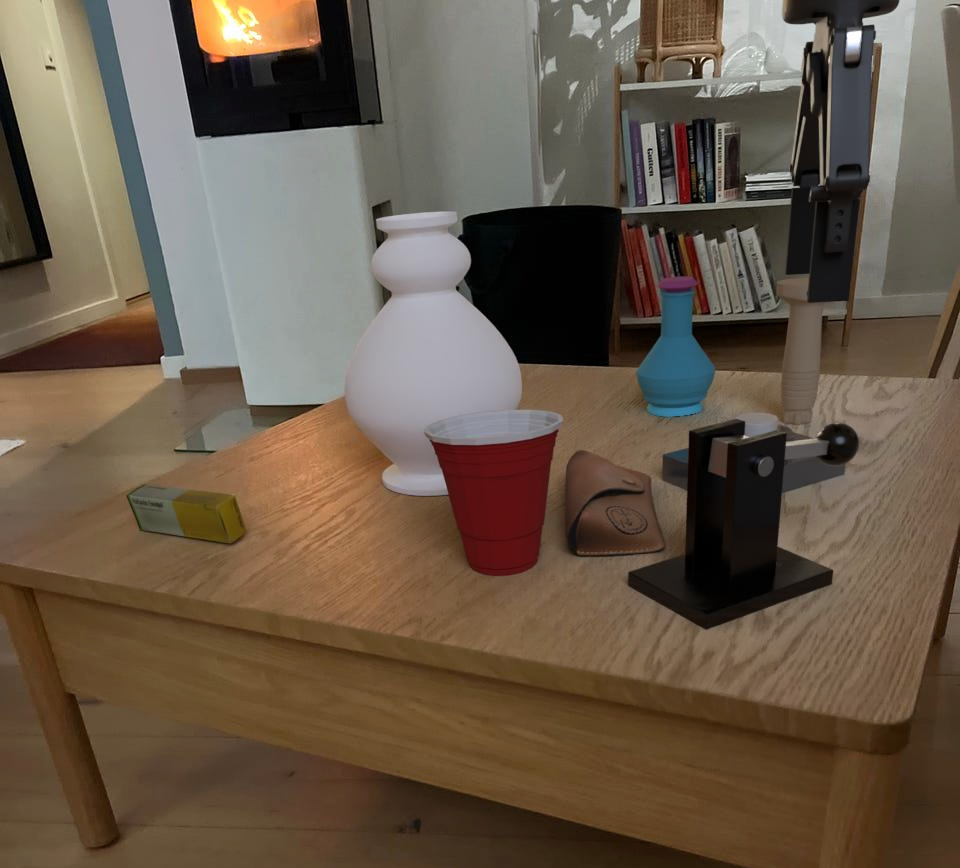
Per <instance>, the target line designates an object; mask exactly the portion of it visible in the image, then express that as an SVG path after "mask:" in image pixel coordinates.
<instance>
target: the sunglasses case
mask: <svg viewBox="0 0 960 868" xmlns="http://www.w3.org/2000/svg"><path fill="white" fill-rule="evenodd" d="M564 480H565V482H564V483H565V485H564V487H565V489H564V491H565V536H566V542H567V545H568V546H569V547H570V549H571V550H573V552H574V553H575V554H576V555H578V556H580V557H625V556H626V557H627V556H634V555H644V554H651V553H656V552H660V551H662V550H665V549H666V540H665V537H664V533H663V531H662V528H661V525H660V523H659V519H658V516H657V512H656V508H655V504H654V499H653V493H652V477H651V476H650V475H648V474H646V473H644V472H642V471H638V470H633V469H631V468H627V467H624V466H621V465H618V464H615V463H614V462H612V461H611V460H609V459H607V458H604V457H603V456H601V455H599V454H596V453H595V452H591V451H588V450H583V449H579V450H577V451H575V452H574V453H573V454H572V455H571V456H570V458H569V459H568V461H567V463H566V468H565V479H564Z"/></svg>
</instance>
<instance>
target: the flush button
mask: <svg viewBox="0 0 960 868" xmlns="http://www.w3.org/2000/svg"><path fill="white" fill-rule="evenodd" d="M733 419H739V420H743V421H745V436H747V437H752V436H756V435H760V434H764V433H767V432H771V431H775V430H777V429H778V424H779V417H778V416H777V415H774V414H772V413H767V412H746V413H741V414H738V415H736V416H734V418H733Z"/></svg>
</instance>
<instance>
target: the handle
mask: <svg viewBox="0 0 960 868" xmlns="http://www.w3.org/2000/svg"><path fill="white" fill-rule="evenodd" d="M808 283H809V277H797V278H795V277H794V278H788V279H787V278H786V279H780V280H777V281H776V289H775V293H776V296H778V297H779V298H780V299H781V300H783V301H785V302H786V303H787V304H789V315H788V324H787V330H786V331H787V332H786V339H785V345H784V346H785V347H784V353H783V360H782V367H781V369H782V370H781V377H780V378H781V379H780V387H781V388H780V401H781V407H782V409H781V419H782V421H783V423H784V424H788V425H789V424H790V425H794V426H800V425H803V424H809V423H810V422H811V421H812V419H813V413H814V411H813V408H814V407H815V403H816V400H817V395H818V394H817V393H818V391H819V384H820V375H821V356H822V355H821V354H822V353H821V352H822V329H823V328H822V326H823V313H824V306H825V304H826V302H815V303H808V302H807V295H808Z"/></svg>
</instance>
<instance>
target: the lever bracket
mask: <svg viewBox="0 0 960 868" xmlns="http://www.w3.org/2000/svg"><path fill="white" fill-rule="evenodd" d="M738 435H744V436H745V421H743V420H739V419H734V418H733V419H729V420H726V421H725V420H724V421H722V422H717V423H714V424H710V425H706V426H702V427H698V428H694V429H690V430H689V431H688V447H687V448H688V478H687V490H686V512H685V513H686V515H685V516H686V517H685V520H686V521H685V543H684V544H685V545H684V546H685V548H684V551H685V552H684V554H680V555H677V556H674V557H671V558H668V559H663V560H662V561H659V562H655V563H652V564H648V565H646V566H643V567H640V568H636V569H634V570H630V571H628V574H627V586H628V587H630V588H632V589H633V590H634V591H635V590H636V591H637V592H638V593H640V594H642V595H644V596H646V597H647V598H649V599H651V600H653V601H655V602H656V603H659V604H660V605H662V606H664V607H665V608H667V609H668V610H671V611H672V612H674V613H676V614H678V615H680V616H681V617H683V618H685V619H687V620H689V621H690V622H691V623H693V624H695V625H697V626H699V627H701V628H703V629H704V630H710V629H712V628H716V627H718V626H721V625H723V624H726V623H729V622H732V621H734V620H737V619H739V618H743V617H745V616H748V615H751V614H754V613H756V612H760V611H761V610H764V609H767V608H770V607H773V606H775V605H778V604H781V603H784V602H787V601H789V600H792V599H796V598H798V597H800V596H803V595H806V594H809V593H811V592H814V591H817V590H819V589H822V588H825V587H827V586H831V585H832V584H833V579H834V569H832V568H830V567H828V566H825V565H822V564H821V563H818V562H816V561H814V560H811V559H808V558H806V557H804V556H802V555H799V554H797V553H794V552H792V551H790V550H787V549H785V548H782V547H780V546H778V545H779V535H780V534H779V533H780V521H781V520H780V519H781V509H782V498H783V497H782V496H783V493H782V486H783V474H784V461H785V449H786V437H787V433H785V432H781V431H778V430H775V431H771V432H767V433H764V434H760V435H756V436H752V437H749V438H745V439H741V440H737V441H734V442H730V443H728V448H727V468H726V478H725V477H722V476H719V475H717V474H714V473H711V472H709V471H708V467H709V460H710V453H711V446H712V439H713V438H719V437H728V436H738Z"/></svg>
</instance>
